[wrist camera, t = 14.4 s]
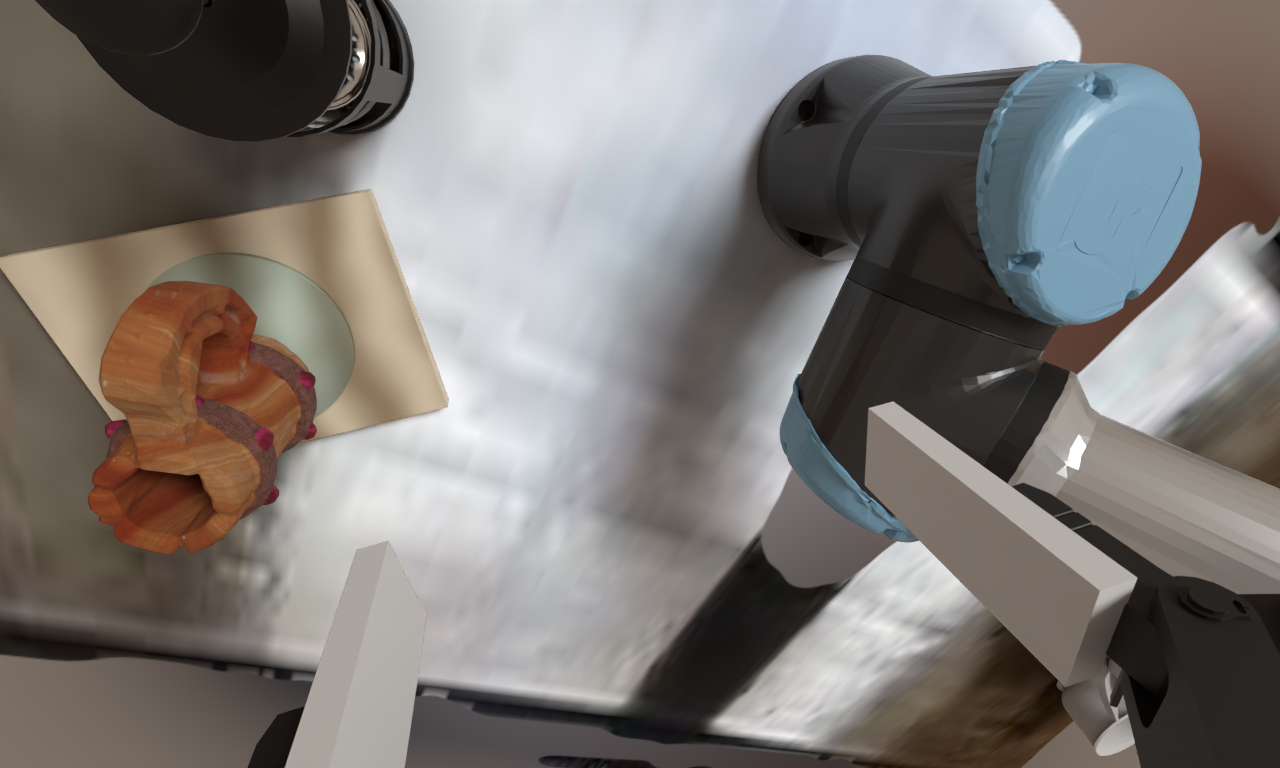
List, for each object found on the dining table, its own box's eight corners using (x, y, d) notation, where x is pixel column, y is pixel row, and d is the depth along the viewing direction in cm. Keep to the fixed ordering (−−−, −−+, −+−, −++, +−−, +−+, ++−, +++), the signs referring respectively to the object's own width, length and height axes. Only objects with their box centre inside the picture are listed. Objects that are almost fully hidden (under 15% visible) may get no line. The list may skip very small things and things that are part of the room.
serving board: (371, 188, 37) (364, 192, 35) (448, 398, 45) (446, 411, 43) (13, 253, 34) (-17, 262, 32) (164, 467, 42) (148, 484, 40)
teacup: (1079, 700, 102) (1134, 755, 93) (1028, 699, 97) (1081, 757, 88) (1120, 656, 98) (1182, 708, 89) (1070, 652, 92) (1130, 708, 84)
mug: (330, 440, 42) (256, 587, 29) (205, 433, 39) (62, 591, 26) (328, 255, 36) (236, 334, 23) (182, 233, 34) (-13, 307, 21)
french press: (381, 171, 37) (250, 237, 17) (222, 92, 33) (-190, 58, 13) (446, -7, 34) (379, -185, 14) (278, -116, 30) (-161, -590, 10)
